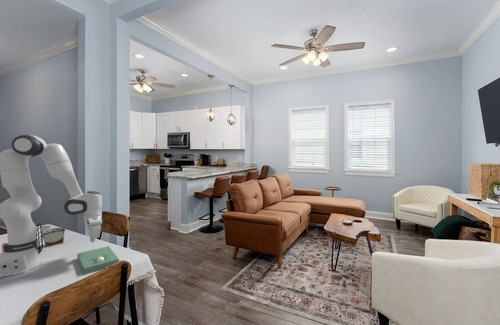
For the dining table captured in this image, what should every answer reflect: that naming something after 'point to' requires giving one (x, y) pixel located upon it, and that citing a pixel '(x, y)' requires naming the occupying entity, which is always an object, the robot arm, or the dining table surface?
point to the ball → (100, 259)
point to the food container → (53, 236)
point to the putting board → (90, 257)
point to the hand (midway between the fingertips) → (92, 241)
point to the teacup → (45, 229)
